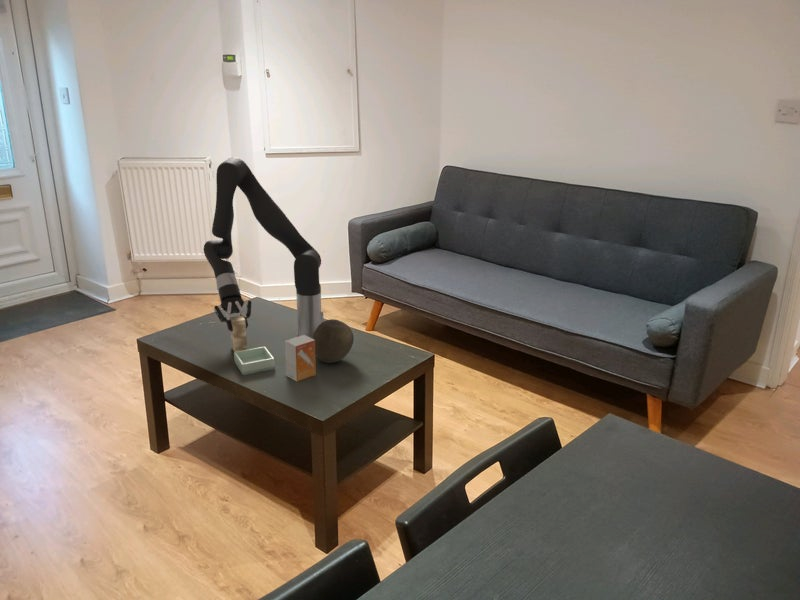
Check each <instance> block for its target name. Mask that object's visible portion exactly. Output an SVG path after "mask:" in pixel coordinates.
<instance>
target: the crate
mask: <svg viewBox="0 0 800 600" xmlns="http://www.w3.org/2000/svg"><path fill="white" fill-rule="evenodd" d="M233 355H234V357H233V359H234V363H235V365H236V367H237V368H238V369H239V372H240V373H241V374H242V375H243V376H246V375H251V374H255V373H256V374H257V373H261V371H262V372H266V371H272V370H275V368H276V367H275V357H274V356H273V355H272V353H271V352H270V351H269V350H268V348H267V347H266V346H260V347H254V348H249V349H248V348H247V350H243V351H237V352H235V351H233Z"/></svg>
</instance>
